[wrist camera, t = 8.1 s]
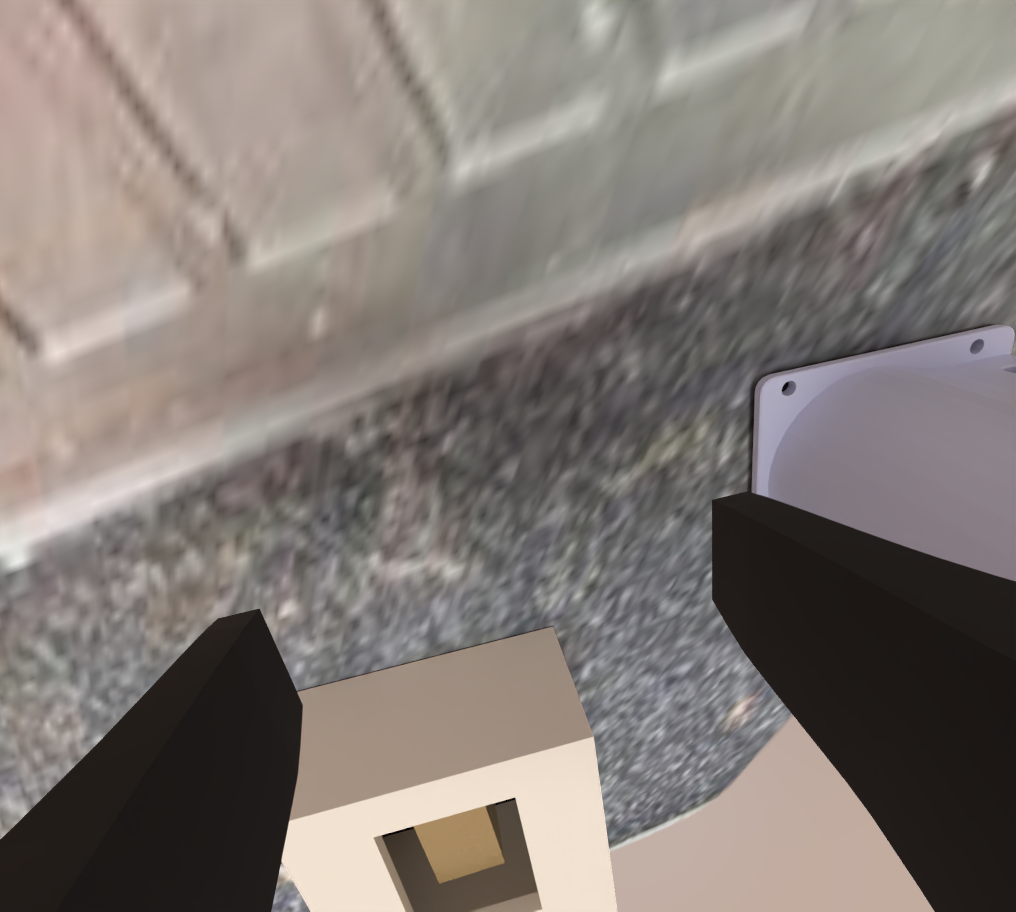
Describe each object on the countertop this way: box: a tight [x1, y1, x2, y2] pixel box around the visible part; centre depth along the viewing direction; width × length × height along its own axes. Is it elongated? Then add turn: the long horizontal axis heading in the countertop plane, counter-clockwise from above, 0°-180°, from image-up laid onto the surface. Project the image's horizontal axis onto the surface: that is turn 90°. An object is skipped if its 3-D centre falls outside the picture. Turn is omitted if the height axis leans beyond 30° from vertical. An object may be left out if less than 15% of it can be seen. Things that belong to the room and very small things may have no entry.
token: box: [413, 803, 505, 884], centre depth 21 cm, size 2×4×4 cm, turn 12°
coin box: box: [281, 627, 617, 912], centre depth 21 cm, size 10×10×5 cm
